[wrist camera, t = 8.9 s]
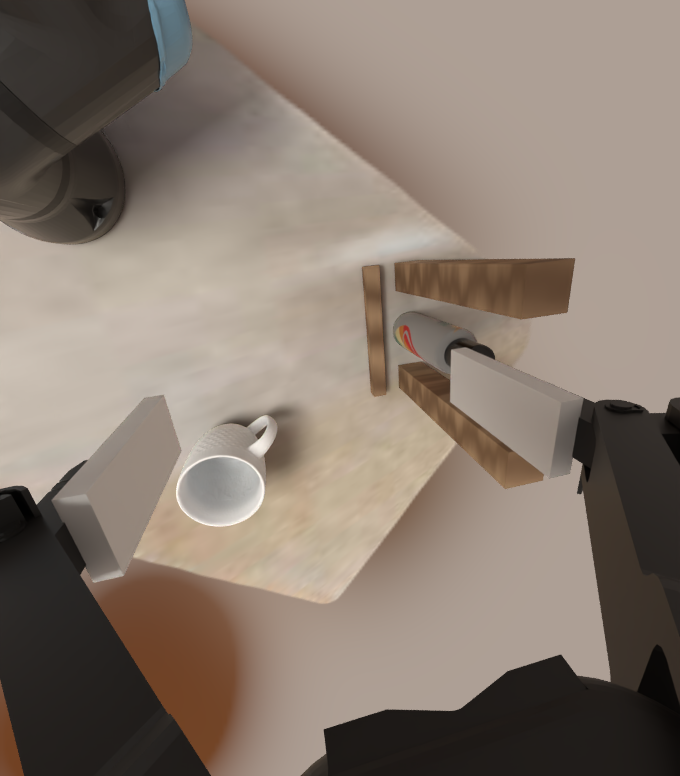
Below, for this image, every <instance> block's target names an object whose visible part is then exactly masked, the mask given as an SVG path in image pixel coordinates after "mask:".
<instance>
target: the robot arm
mask: <svg viewBox="0 0 680 776" xmlns="http://www.w3.org/2000/svg"><path fill="white" fill-rule="evenodd" d="M191 50H192V30H191V24H190V19H189V15H188V12H187V8H186V4H185V1H184V0H0V221H2V222H3V223H4V224H6V225H7V226H9V227H11V228H12V229H14V230H16V231H18V232H20V233H22V234H24V235H26V236H29V237H32V238H34V239H38V240H41V241H45V242H51V243H60V244H80V243H85V242H89V241H92V240H95V239H97V238H99V237H101V236H102V235H104V234H105V233H106V232H108V231H109V230H110V229H111V228H112V227H113V225H114V224H115V223H116V221H117V220H118V218H119V216H120V214H121V211H122V208H123V204H124V198H125V182H124V176H123V171H122V168H121V165H120V162H119V159H118V157H117V155H116V153H115V151H114V149H113V147H112V145H111V144H110V142H109V141H108V139H107V138H106V136H105V135H104V134H103V132H102V131H101V129H102V128H104V127H105V126H107V125H108V124H109V123H111V122H112V121H113V120H115V119H116V118H118V117H119V116H120V115H122V114H123V113H125V112H126V111H127V110H129V109H130V108H131V107H133V106H134V105H136V104H137V103H138V102H140V101H141V100H142V99H144V98H145V97H147V96H148V95H149V94H151V93H152V92H153V91H154V92H158V91H160V90H161V89H162V87H163V86H164V85H165V82H166V81H167V80H168V79H169V78H170V77H171V76H173V75H174V74H175V73H176V72H177V71H179V70H180V69H181V68H182V67H183V66H184V65H186V63H187V61H188V59H189V57H190V53H191ZM450 402H451V403H452V404H453V405H455V406H456V407H457V408H459V409H460V410H461V411H463V412H464V413H465V414H466V415H468V416H469V417H470V418H472V419H473V420H474V421H476V422H477V423H478V424H479V425H481V426H482V427H483V428H485V429H486V430H487V431H489V432H490V433H491V434H492V435H494V436H495V437H496V438H498V439H499V440H500V441H501V442H503V443H504V444H505V445H507V446H508V447H509V448H511V449H512V450H513V451H514V452H516V453H517V454H518V455H520V456H521V457H522V458H524V459H525V460H526V461H527V462H529V463H530V464H531V465H533V466H534V467H535V468H537V469H538V470H539V471H540V472H542V473H543V474H544V475H546V476H547V477H548V478H554V477H558V476H563V475H567V474H570V470H571V464H572V459H573V458H575V459H576V460H578V461H579V462H581V463H583V465H582V471H581V476H580V481H579V486H578V491H577V494H581V493H582V491H583V493H584V499H585V506H586V513H587V519H588V526H589V533H590V539H591V546H592V553H593V560H594V566H595V573H596V579H597V586H598V592H599V600H600V605H601V613H602V619H603V626H604V633H605V640H606V646H607V653H608V660H609V666H610V675H611V682H608V681H604V680H600V679H596V678H589V677H583V676H577V675H576V674H575V673H574V672H573V670H572V669H571V667H570V666H569V665H568V663H567V662H566V661H565V659H564V658H563V657H562V655H558V656H555V657H552V658H548V659H545V660H542V661H539V662H536V663H533V664H529V665H527V666H523V667H520V668H517V669H514V670H510V671H507V672H506V673H505V674H504V675H503V676H501V677H500V678H499V679H497V680H496V681H495V682H494V683H492V684H491V685H490V686H489V687H488V688H486V689H485V690H484V691H482V692H481V693H480V694H479V695H477V696H476V697H475V698H474V699H472V700H471V701H470V702H469V703H467V704H466V705H465V706H464V707H462V708H461V709H459V710H455V711H428V710H425V711H424V710H384V711H381V712H378V713H374V714H371V715H368V716H365V717H362V718H358V719H355V720H352V721H349V722H346V723H343V724H339V725H336V726H333V727H330V728H327V729H324V736H325V744H326V753H327V754H325V755H324V756H323V757H321V758H320V759H319V760H317V761H316V762H315V763H313V764H312V765H311V766H310V767H309V768H308V769H307V770H306V771H305V772H304V773H303V774H302V775H301V776H680V398H674V399H671V400H670V402H669V405H668V409H667V412H666V413H649V412H648V411H647V410H646V409H645V408H644V407H642V406H640V405H637V404H634V403H631V402H627V401H622V400H602V401H598V402H596V403H594V402H592V401H589V400H587V399H585V398H583V397H580V396H578V395H576V394H573V393H571V392H568V391H566V390H564V389H561V388H559V387H557V386H555V385H552V384H550V383H547V382H545V381H543V380H540V379H538V378H536V377H533V376H531V375H529V374H526V373H524V372H522V371H519V370H517V369H515V368H513V367H510V366H508V365H506V364H503V363H501V362H499V361H496V360H494V359H492V358H489V357H487V356H485V355H482V354H480V353H478V352H476V351H473V350H471V349H469V348H466V347H465V348H458V349H452V350H451V379H450ZM180 453H181V448H180V445H179V441H178V438H177V435H176V432H175V429H174V426H173V423H172V419H171V416H170V413H169V410H168V407H167V404H166V400H165V397H164V395H160V396H154V397H148V398H144V399H143V400H142V401H141V402H140V404H139V405H138V406H137V407H136V408H135V409H134V410H133V411H132V412H131V413H130V415H129V416H128V417H127V418H126V419H125V420H124V421H123V422H122V423H121V424H120V426H119V427H118V428H117V429H116V430H115V431H114V432H113V433H112V434H111V435H110V437H109V438H108V439H107V440H106V441H105V442H104V443H103V444H102V445H101V446H100V448H99V449H98V450H97V451H96V452H95V453H94V454H93V455H92V456H91V457H90V458H89V460H85V461H83V462H82V463H80V464H79V465H77V466H75V467H74V468H72V469H71V470H69V471H68V472H67V473H66V475H65V476H64V477H63V478H62V479H61V480H60V483H57V484H56V485H55V486H54V487H53V488H52V489H51V491H50V492H48V493H47V494H46V495H45V497H44V498H43V499H42V500H41V501H40V502H39V503H38V504H37V505H36V503H35V501H34V500H33V498H32V496H31V494H30V492H29V490H28V488H26V487H24V486H12V487H8V488H3V489H0V680H1V684H2V688H3V692H4V696H5V700H6V704H7V708H8V712H9V716H10V720H11V724H12V729H13V732H14V736H15V741H16V745H17V749H18V753H19V757H20V761H21V764H22V769H23V773H24V776H211V775H210V774H209V772H208V770H207V769H206V768H205V766H204V764H203V763H202V761H201V760H200V758H199V756H198V755H197V753H196V752H195V750H194V749H193V747H192V745H191V744H190V742H189V741H188V739H187V738H186V736H185V735H184V733H183V731H182V730H181V729H180V727H179V725H178V724H177V722H176V721H175V719H174V718H173V717H172V716H171V714H168V713H167V712H166V710H165V709H164V707H163V706H162V704H161V702H160V701H159V700H158V698H157V696H156V695H155V693H154V691H153V690H152V688H151V687H150V685H149V684H148V682H147V680H146V679H145V677H144V676H143V674H142V673H141V671H140V669H139V668H138V666H137V665H136V663H135V661H134V660H133V658H132V657H131V655H130V654H129V652H128V650H127V649H126V648H125V646H124V644H123V642H122V641H121V639H120V638H119V636H118V635H117V633H116V631H115V630H114V628H113V627H112V625H111V624H110V622H109V620H108V619H107V617H106V616H105V614H104V613H103V611H102V609H101V608H100V606H99V605H98V603H97V601H96V600H95V598H94V597H93V595H92V593H91V592H90V590H89V589H88V587H87V586H86V584H85V582H84V581H83V579H82V578H81V576H80V574H81V572H82V571H83V569H84V568H85V567H86V569H87V571H88V573H89V574H90V577H91V579H92V581H93V582H98V581H102V580H107V579H111V578H116V577H120V576H124V574H125V572H126V570H127V568H128V565H129V563H130V561H131V559H132V557H133V555H134V553H135V550H136V548H137V546H138V544H139V542H140V540H141V537H142V535H143V533H144V531H145V529H146V527H147V524H148V522H149V520H150V518H151V516H152V514H153V511H154V509H155V507H156V505H157V503H158V501H159V498H160V496H161V494H162V492H163V490H164V487H165V485H166V483H167V481H168V479H169V477H170V474H171V472H172V470H173V468H174V466H175V464H176V461H177V459H178V457H179V455H180Z"/></svg>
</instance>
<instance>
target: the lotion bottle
mask: <svg viewBox="0 0 680 776" xmlns="http://www.w3.org/2000/svg"><path fill="white" fill-rule="evenodd" d="M393 335H394V338H395V340H396V342H397V343H398V344H399V345H401V346H402V347H404V348H405V349H407V350H409V351H410V352H412V353H413V354H415V355H416V356H418V357H420V358H421V359H423V360H424V361H426V362H428V363H429V364H431V365H432V366H434V367H436V368H437V369H439V370H440V371H442V372H444V373H447V374H451V350H452V349H458V348H465V347H466V348H469V349H471V350H473V351H476V352H478V353H480V354H482V355H485V356H487V357H489V358H492V359H494V360H495V355H494V353H493V351H492V350H491V349H490V348H489V347H487V346H485V345H482V344H480V343H477V340H476V338H475V336H474V335H473V334H472V333H471V332H469V331H468V330H466V329H463V328H460V327H457V326H455V325H452V324H449V323H446V322H443V321H440V320H437V319H434V318H431V317H428V316H425V315H422V314H419V313H415V312H408V313H405V314H403V315H401V316H400V317H399V318H398V319H397V320H396V322H395V324H394V327H393Z"/></svg>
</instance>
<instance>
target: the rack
mask: <svg viewBox="0 0 680 776" xmlns="http://www.w3.org/2000/svg"><path fill="white" fill-rule="evenodd" d="M574 263H575V258H573V259H572V258H564V259H480V260H417V261H409V262H400V263H395V287H396V291H399V292H403V293H407V294H412V295H416V296H421V297H425V298H430V299H434V300H438V301H443V302H447V303H452V304H456V305H460V306H465V307H469V308H474V309H478V310H483V311H487V312H491V313H496V314H500V315H505V316H509V317H513V318H518V319H527V318H534V317H541V316H548V315H554V314H561V313H567V311H568V304H569V297H570V291H571V283H572V277H573V269H574ZM362 272H363V286H364V300H365V314H366V328H367V342H368V356H369V370H370V384H371V393H372V394H373V395H374V397H376V396H382V395H386V381H385V362H384V343H383V325H382V306H381V288H380V269H379V265H374V266H365V267H362ZM398 366H399V388H400V389H401V390H402V391H403V392H404V393H406V394H407V395H408V396H409V397H410V398H411V399H412V400H413V401H414V402H415V403H416V404H417V405H418V406H419V407H420V408H421V409H422V410H423V411H424V412H425V413H426V414H427V415H428V416H430V417H431V418H432V419H433V420H434V421H435V422H436V423H437V424H438V425H439V426H440V427H441V428H442V429H443V430H444V431H445V432H446V433H447V434H448V435H449V436H450V437H451V438H452V439H454V440H455V441H456V442H457V443H458V444H459V445H460V446H461V447H462V448H463V449H464V450H465V451H466V452H467V453H468V454H469V455H470V456H471V457H472V458H473V459H474V460H475V461H476V462H478V463H479V464H480V465H481V466H482V467H483V468H484V469H485V470H486V471H487V472H488V473H489V474H490V475H491V476H492V477H493V478H494V479H495V480H496V481H498V483H499V484H500V485H502V486H503V487H504V488H505V489H507V488H511V487H516V486H520V485H525V484H529V483H533V482H538V481H542V480H543V476H544V474H543V473H542V472H540V471H539V470H538V469H537V468H535V467H534V466H533V465H531V464H530V463H529V462H527V461H526V460H525V459H524V458H522V457H521V456H520V455H518V454H517V453H516V452H514V451H513V450H512V449H511V448H509V447H508V446H507V445H505V444H504V443H503V442H501V441H500V440H499V439H498V438H496V437H495V436H494V435H492V434H491V433H490V432H489V431H487V430H486V429H485V428H483V427H482V426H481V425H479V424H478V423H477V422H476V421H474V420H473V419H472V418H470V417H469V416H468V415H466V414H465V413H464V412H463V411H461V410H460V409H459V408H457V407H456V406H455V405H453V404H452V403H451V402H450V380H449V379H447V378H445V377H444V376H442V375H441V374H439V373H438V372H436V371H435V370H433V369H432V368H430V367H429V366H427V365H426V364H424V363H422V362H416V363H409V364H403V365H398Z"/></svg>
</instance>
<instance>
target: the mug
mask: <svg viewBox="0 0 680 776" xmlns="http://www.w3.org/2000/svg"><path fill="white" fill-rule="evenodd" d="M265 426H267V428H266V431H265V433H264V434H263V436H262V437H261V438H260V439H259V440H258V439H257V437H256V436H255V435H256V434H257V433H258V432H259V431H260V430H261V429H263V428H264V427H265ZM276 434H277V423H276V422H275V420H274V419H273V418H272V417H270V416H268V415H264V416H261V417H259V418H258V419H256V420H255V421H254V422H253V423H251V424H250V425H249V426H248V427H244V426H242V425H238V424H232V423H230V424H223V425H219V426H216V427H214V428H213V429H211V430H210V431H208V432H207V433H206V434H204V435H203V436H202V437H201V438H200V439H199V441H198V442H197V443H196V444H195V446H194V447H193V449H192V450H191V451H190V454H189V456H188V457H187V460H186V462H185V465H184V467H183V468H182V472H181V474H180V477H179V480H178V483H177V487H176V496H177V501H178V503H179V505H180V507H181V509H182V510H183V511H184V512H185V513H186V515H188V516H189V517H190V518H192V519H193V520H195V521H197V522H199V523H202V524H205V525H209V526H217V527H220V526H230V525H234V524H237V523H240V522H242V521H244V520H246V519H248V518H249V517H250V516H252V515H253V514H254V513H255V512H256V511H257V510H258V509H259V507H260V506H261V504H262V502H263V499H264V495H265V485H266V464H265V457H264V454H265V453H266V452H267V451H268V449H269V448H270V446H271V445H272V443H273V441H274V439H275V437H276Z"/></svg>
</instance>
